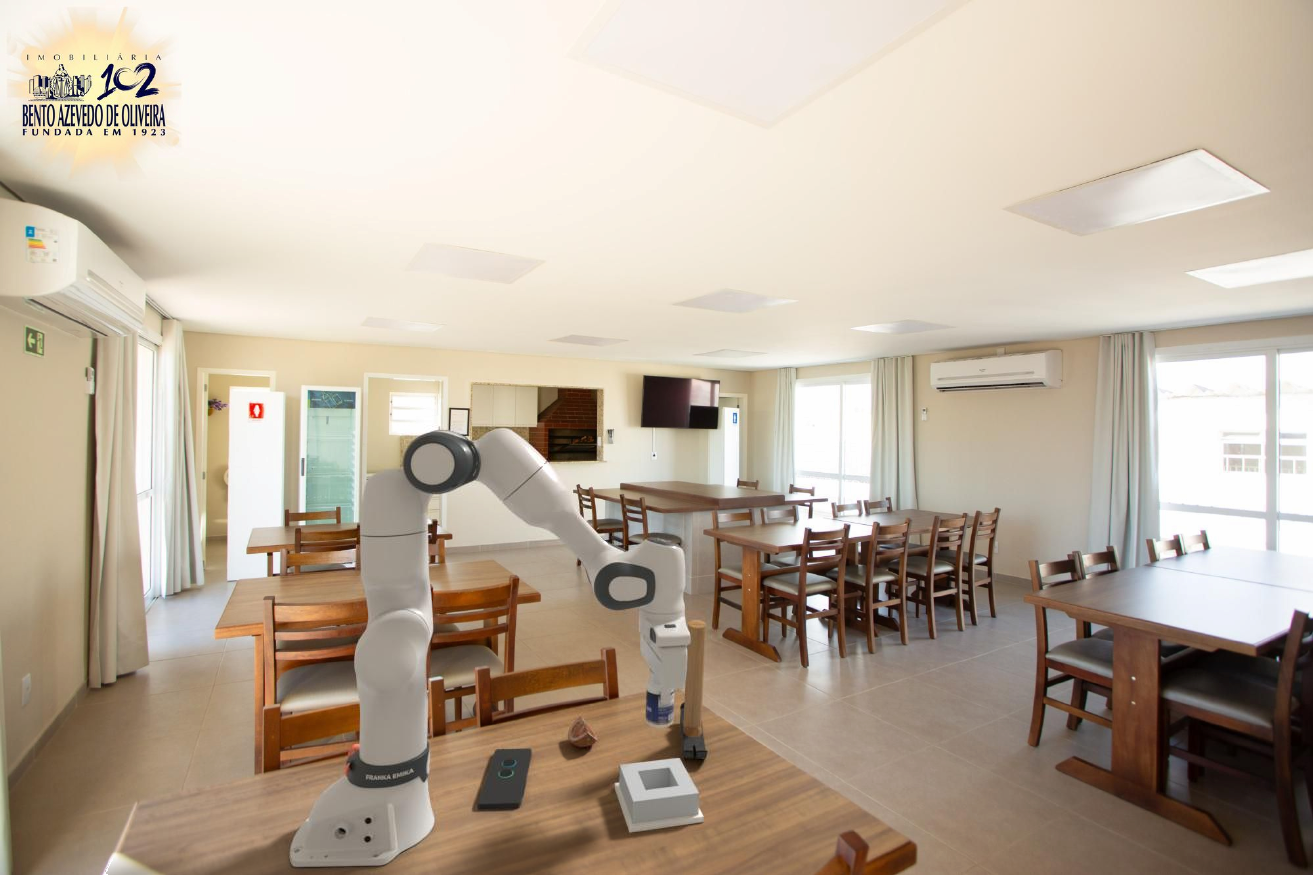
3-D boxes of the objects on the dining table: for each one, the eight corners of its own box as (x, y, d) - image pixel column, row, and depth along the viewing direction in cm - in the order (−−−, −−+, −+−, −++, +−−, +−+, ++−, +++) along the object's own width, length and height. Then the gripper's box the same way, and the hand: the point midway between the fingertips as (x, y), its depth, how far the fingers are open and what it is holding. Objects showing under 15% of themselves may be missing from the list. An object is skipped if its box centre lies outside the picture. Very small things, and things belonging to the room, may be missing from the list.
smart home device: (532, 747, 133) (521, 801, 113) (532, 755, 133) (520, 811, 113) (494, 748, 132) (476, 803, 112) (494, 756, 132) (475, 812, 112)
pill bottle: (641, 718, 117) (642, 668, 117) (666, 713, 119) (667, 664, 119) (651, 730, 112) (653, 678, 112) (677, 725, 114) (679, 674, 114)
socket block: (629, 832, 107) (630, 804, 107) (614, 787, 121) (615, 763, 121) (703, 821, 111) (704, 794, 111) (681, 779, 124) (681, 755, 124)
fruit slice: (600, 752, 134) (601, 730, 134) (570, 757, 132) (571, 734, 132) (593, 735, 142) (593, 714, 142) (565, 738, 140) (565, 717, 140)
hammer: (706, 774, 130) (712, 648, 125) (683, 774, 130) (688, 647, 125) (699, 715, 150) (704, 604, 145) (679, 715, 150) (683, 603, 145)
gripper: (633, 608, 125) (632, 674, 125) (659, 640, 105) (657, 719, 105) (662, 606, 127) (661, 672, 127) (693, 638, 107) (691, 716, 107)
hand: (659, 694), depth 116 cm, fingers closed on pill bottle, 5 cm apart
